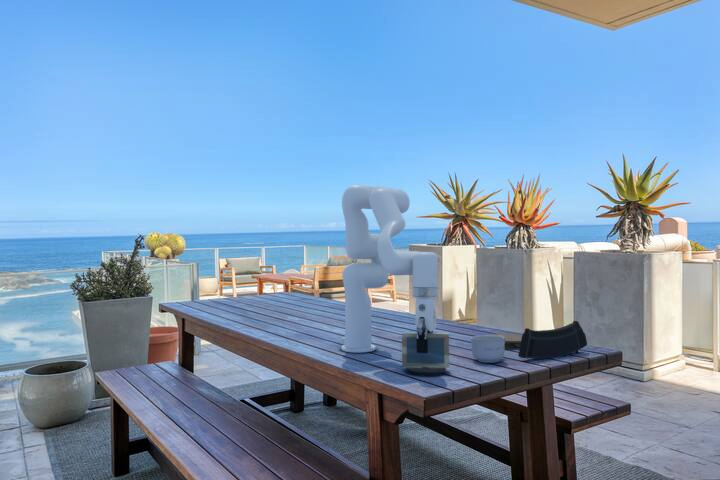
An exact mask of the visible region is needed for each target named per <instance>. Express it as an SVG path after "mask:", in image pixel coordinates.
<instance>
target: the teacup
mask: <svg viewBox="0 0 720 480" xmlns="http://www.w3.org/2000/svg"><path fill="white" fill-rule="evenodd" d="M470 342H471V343H470V344H471V345H470V346H471V347H470V348H471V353H472V354H471V355H472V356H473V358H474V359H476V360H477V361H478V362H480V363H484V364H485V363H486V364H490V363H491V364H492V363H498V362H500V361H501V360H502V359H503V358H504V357H505V351H506V349H505V347H504V344H505V338H504V337H503V336H501V335H499V336H495V335H490V334H485V335H483V334H481V335H473V336H471V337H470Z"/></svg>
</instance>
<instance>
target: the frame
mask: <svg viewBox="0 0 720 480" xmlns="http://www.w3.org/2000/svg"><path fill="white" fill-rule="evenodd" d="M424 335H425V333H424ZM427 339H428V353H417V332H406V331H405V332H403V331H402V332H401V367H405V368H406V367H445V368H450V333H449V332H433V333H427Z"/></svg>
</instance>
